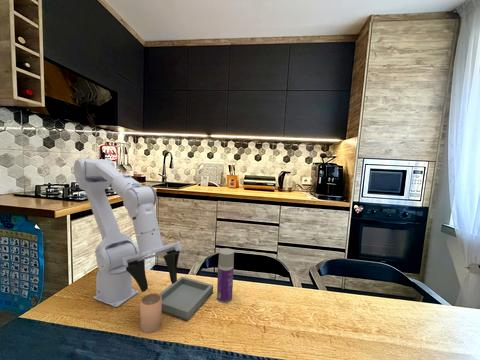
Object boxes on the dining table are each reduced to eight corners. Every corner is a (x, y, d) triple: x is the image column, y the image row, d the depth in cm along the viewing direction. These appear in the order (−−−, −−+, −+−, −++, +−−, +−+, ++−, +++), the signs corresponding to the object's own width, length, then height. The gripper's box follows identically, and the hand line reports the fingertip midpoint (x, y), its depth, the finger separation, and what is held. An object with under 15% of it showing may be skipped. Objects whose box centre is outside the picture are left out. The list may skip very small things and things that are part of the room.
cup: (135, 329, 55) (135, 302, 54) (150, 316, 60) (150, 291, 59) (151, 335, 53) (151, 308, 53) (165, 322, 58) (166, 296, 57)
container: (229, 304, 66) (232, 255, 65) (214, 301, 67) (216, 253, 66) (233, 294, 71) (235, 249, 69) (219, 292, 72) (221, 247, 70)
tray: (151, 308, 63) (151, 299, 63) (181, 283, 76) (181, 276, 76) (187, 321, 59) (187, 312, 58) (213, 292, 72) (213, 285, 71)
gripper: (110, 242, 53) (122, 300, 52) (169, 226, 53) (183, 284, 52) (126, 238, 60) (137, 289, 59) (178, 223, 60) (190, 274, 59)
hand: (159, 286), depth 56 cm, fingers open, 7 cm apart
